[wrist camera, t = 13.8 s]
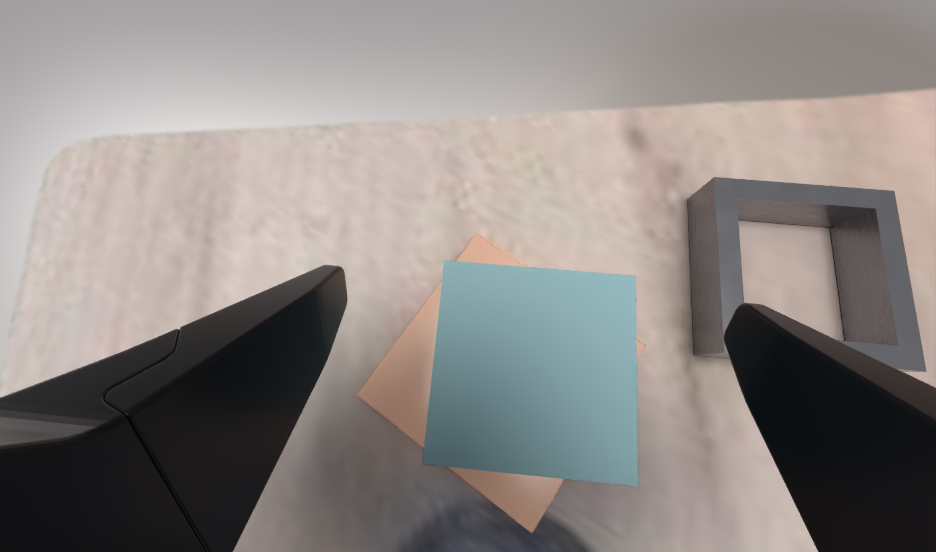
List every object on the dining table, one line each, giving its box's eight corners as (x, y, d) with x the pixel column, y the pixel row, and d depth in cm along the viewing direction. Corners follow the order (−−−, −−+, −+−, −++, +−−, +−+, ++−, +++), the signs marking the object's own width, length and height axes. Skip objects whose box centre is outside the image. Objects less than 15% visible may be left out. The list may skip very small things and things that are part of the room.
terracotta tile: (529, 526, 18) (532, 533, 17) (360, 394, 20) (356, 394, 19) (639, 346, 20) (645, 345, 19) (477, 238, 21) (477, 233, 21)
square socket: (870, 371, 19) (926, 371, 17) (693, 355, 20) (724, 352, 17) (846, 211, 21) (894, 191, 19) (687, 199, 22) (714, 177, 19)
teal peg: (547, 424, 18) (638, 486, 8) (451, 414, 18) (422, 464, 8) (551, 327, 19) (635, 276, 9) (460, 319, 20) (444, 260, 9)
